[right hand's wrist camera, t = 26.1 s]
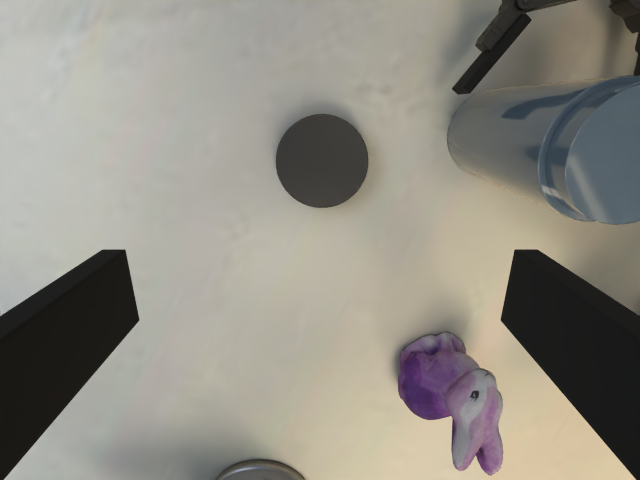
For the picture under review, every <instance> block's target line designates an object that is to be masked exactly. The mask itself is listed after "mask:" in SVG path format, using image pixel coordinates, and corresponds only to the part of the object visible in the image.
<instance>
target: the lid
mask: <svg viewBox="0 0 640 480" xmlns="http://www.w3.org/2000/svg"><path fill="white" fill-rule="evenodd" d="M276 168H277V173H278V176H279V179H280V181H281V183H282V185H283V187H284V188H285V190H286V191H287V192H288V193H289V194H290V195H291V196H292V197H293V198H295V199H296V200H297V201H299V202H301V203H303V204H305V205H308V206H312V207H318V208H327V207H333V206H336V205H339V204H341V203H343V202H345V201H347V200H348V199H349V198H351V197H352V196H353V195H354V194H355V193H356V192H357V191H358V189H359V188H360V187H361V185H362V183H363V181H364V179H365V177H366V173H367V168H368V153H367V149H366V145H365V143H364V141H363V139H362V137H361V135H360V134H359V133H358V131H357V130H356V129H355V128H354V127H353V126H352V125H351V124H349V123H348V122H347V121H345V120H343V119H341V118H339V117H336V116H333V115H329V114H316V115H311V116H308V117H305V118H303V119H301V120H299V121H298V122H296V123H295V124H294V125H292V126H291V127H290V128H289V129H288V130H287V132H286V133H285V134H284V136H283V137H282V139H281V141H280V143H279V146H278V149H277V155H276Z"/></svg>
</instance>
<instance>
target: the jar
mask: <svg viewBox="0 0 640 480" xmlns="http://www.w3.org/2000/svg"><path fill="white" fill-rule="evenodd" d="M447 142H448V148H449V152H450V155H451V157H452V158H453V160H454V161H455V163H456V164H457V165H458V166H459V167H460V168H462V169H463V170H465V171H467V172H469V173H471V174H473V175H475V176H478V177H480V178H482V179H484V180H486V181H489V182H491V183H493V184H495V185H498V186H500V187H502V188H504V189H506V190H509V191H511V192H513V193H515V194H517V195H520V196H522V197H524V198H526V199H529V200H531V201H533V202H535V203H537V204H540V205H542V206H544V207H546V208H549V209H551V210H553V211H555V212H557V213H560V214H562V215H564V216H566V217H569V218H572V219H575V220H580V221H590V222H594V221H598V222H600V223H606V224H628V223H633V222H637V221H640V76H620V77H610V78H599V79H589V80H579V81H569V82H559V83H549V84H538V85H528V86H518V87H508V88H498V89H489V90H484V91H482V92H479V93H477V94H475V95H473V96H471V97H470V98H468V99H467V100H466V101H465V102H464V103H463V104H462V105H461V106H460V107H459V108H458V110H457V111H456V112H455V114H454V116H453V118H452V120H451V122H450V125H449V129H448V136H447Z"/></svg>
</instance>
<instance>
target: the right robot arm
mask: <svg viewBox="0 0 640 480" xmlns="http://www.w3.org/2000/svg"><path fill="white" fill-rule="evenodd" d="M138 321H139V316H138V311H137V306H136V301H135V296H134V291H133V286H132V281H131V276H130V271H129V266H128V261H127V256H126V251H125V250H101V251H100V252H98V253H97V254H95V255H94V256H92V257H91V258H89V259H87V260H86V261H84V262H83V263H81V264H80V265H78V266H77V267H75V268H74V269H72V270H71V271H69V272H67V273H66V274H64V275H63V276H61V277H60V278H58V279H57V280H55V281H54V282H52V283H51V284H49V285H48V286H46V287H44V288H43V289H41V290H40V291H38V292H37V293H35V294H34V295H32V296H31V297H29V298H28V299H26V300H24V301H23V302H21V303H20V304H18V305H17V306H15V307H14V308H12V309H11V310H9V311H8V312H6V313H5V314H3V315H1V316H0V480H4V479H5V477H6V476H7V475H8V474H9V473H10V472H11V470H12V469H13V468H14V467H15V466H16V465H17V463H18V462H19V461H20V460H21V459H22V458H23V456H24V455H25V454H26V453H27V452H28V450H29V449H30V448H31V447H32V446H33V445H34V443H35V442H36V441H37V440H38V439H39V438H40V436H41V435H42V434H43V433H44V432H45V430H46V429H47V428H48V427H49V426H50V425H51V423H52V422H53V421H54V420H55V419H56V418H57V416H58V415H59V414H60V413H61V412H62V411H63V409H64V408H65V407H66V406H67V405H68V403H69V402H70V401H71V400H72V399H73V398H74V396H75V395H76V394H77V393H78V392H79V391H80V389H81V388H82V387H83V386H84V385H85V383H86V382H87V381H88V380H89V379H90V378H91V376H92V375H93V374H94V373H95V372H96V371H97V369H98V368H99V367H100V366H101V365H102V364H103V362H104V361H105V360H106V359H107V358H108V356H109V355H110V354H111V353H112V352H113V351H114V349H115V348H116V347H117V346H118V345H119V344H120V342H121V341H122V340H123V339H124V338H125V337H126V335H127V334H128V333H129V332H130V331H131V329H132V328H133V327H134V326H135V325H136V324H137V322H138ZM501 321H502V322H503V324H504V325H505V326H506V327H507V328H508V329H509V331H510V332H511V333H512V334H513V335H514V337H515V338H516V339H517V340H518V341H519V342H520V344H521V345H522V346H523V347H524V348H525V349H526V351H527V352H528V353H529V354H530V355H531V356H532V358H533V359H534V360H535V361H536V362H537V364H538V365H539V366H540V367H541V368H542V369H543V371H544V372H545V373H546V374H547V375H548V376H549V378H550V379H551V380H552V381H553V382H554V383H555V385H556V386H557V387H558V388H559V389H560V391H561V392H562V393H563V394H564V395H565V396H566V398H567V399H568V400H569V401H570V402H571V403H572V405H573V406H574V407H575V408H576V409H577V411H578V412H579V413H580V414H581V415H582V416H583V418H584V419H585V420H586V421H587V422H588V423H589V425H590V426H591V427H592V428H593V429H594V430H595V432H596V433H597V434H598V435H599V436H600V438H601V439H602V440H603V441H604V442H605V443H606V445H607V446H608V447H609V448H610V449H611V450H612V452H613V453H614V454H615V455H616V456H617V458H618V459H619V460H620V461H621V462H622V463H623V465H624V466H625V467H626V468H627V469H628V470H629V472H630V473H631V474H632V475H633V476H634V477H635V479H636V480H640V316H639V315H637V314H635V313H634V312H632V311H631V310H629V309H628V308H626V307H625V306H623V305H622V304H620V303H619V302H617V301H616V300H614V299H612V298H611V297H609V296H608V295H606V294H605V293H603V292H602V291H600V290H599V289H597V288H596V287H594V286H592V285H591V284H589V283H588V282H586V281H585V280H583V279H582V278H580V277H579V276H577V275H576V274H574V273H573V272H571V271H569V270H568V269H566V268H565V267H563V266H562V265H560V264H559V263H557V262H556V261H554V260H553V259H551V258H549V257H548V256H546V255H545V254H543V253H542V252H540V251H539V250H515V251H514V256H513V261H512V266H511V271H510V276H509V281H508V286H507V291H506V296H505V301H504V306H503V311H502V316H501ZM216 480H304V479H303V478H302V476H301V475H300V474H298V473H297V472H296V471H294V470H293V469H291V468H289V467H287V466H285V465H283V464H280V463H277V462H272V461H266V460H251V461H245V462H241V463H237V464H235V465H232V466H230V467H229V468H227V469H225V470H224V471H223V472H222V473H221V474H220V475H219V476H218V477H217V479H216Z"/></svg>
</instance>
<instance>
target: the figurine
mask: <svg viewBox="0 0 640 480" xmlns="http://www.w3.org/2000/svg"><path fill="white" fill-rule="evenodd" d="M400 363H401V371H400V374H399V378H398V392H399V396H400V398H401V399H402V400H403V401H404V402H405V404H406V405H407V407H408V408H409V409H410V410H411V411H412V412H413V413H414V414H415V415H417V416H419V417H421V418H423V419H427V420H436V419H441V418H445V417H448V416H452V418H453V424H452V458H453V464H454V466H455V468H456V469H457V470H459V471H462V470H465V469H466V468H468V466H469V465H470V464H471V462H472V460H473V459H474V457H475V455H476V456H477V459H478V462H479V464H480V466H481V468H482V469H483V470H484V472H485V473H487V474H488V475H490V476H491V475H493V474H495V473H496V472H498V470H499V469H500V468H501V465H502V460H503V444H502V440H501V437H500V434H499V430H498V423H499V418H500V416H501V413H502V407H503V401H502V396H501V394H500V392H499V391H498V389H497V385H496V379H495V376H494V375H493V374H492V373H491V372H490V371H488V370H485V369H482V368H480V367H479V365H478V364H477V363H476V362H475V361H474V360H473V359H472V358H471V357H469V356H468V355H466V350H465V346H464V343H463V342H462V341H461V340H459V339H458V338H457V337H456V336H454V335H453V334H451V333H448V332H446V333H442V334H439V335H437V336H433V335H427V336H425V337H422V338H420V339H419V340H416V341H415V342H413V343H411V344H410V345H409V346H407V347H406V348H405V349H404V350H403V351H402V353H401V355H400Z"/></svg>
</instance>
